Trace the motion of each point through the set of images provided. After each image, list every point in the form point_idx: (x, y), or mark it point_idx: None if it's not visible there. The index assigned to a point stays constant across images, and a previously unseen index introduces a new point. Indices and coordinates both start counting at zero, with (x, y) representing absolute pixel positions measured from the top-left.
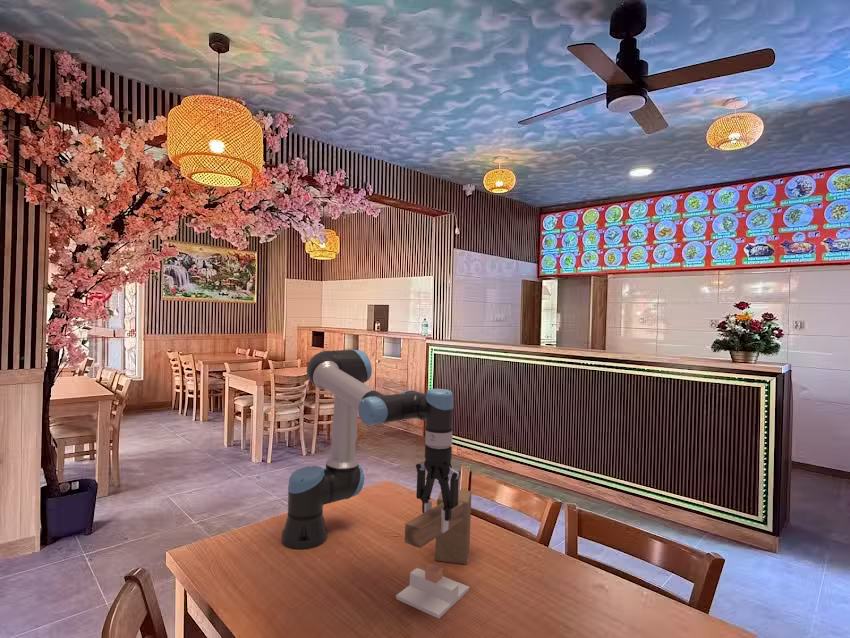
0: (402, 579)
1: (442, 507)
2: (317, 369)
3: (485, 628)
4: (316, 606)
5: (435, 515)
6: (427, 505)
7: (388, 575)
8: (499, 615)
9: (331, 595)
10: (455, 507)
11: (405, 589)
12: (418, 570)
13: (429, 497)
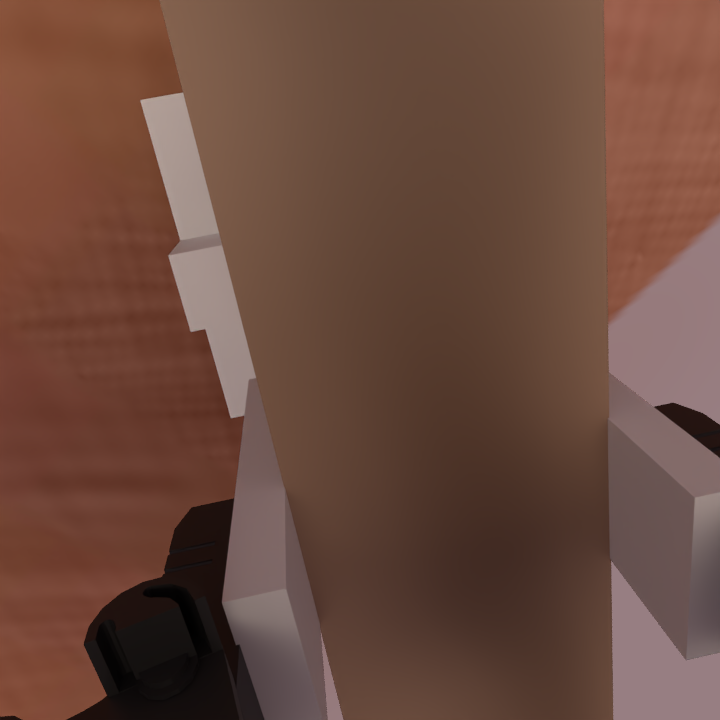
0: (100, 273)
1: (384, 288)
2: None
3: (668, 250)
4: (65, 669)
5: (521, 603)
6: (321, 690)
7: (14, 308)
8: (682, 115)
9: (23, 601)
10: (592, 51)
11: (219, 352)
12: (202, 272)
13: (239, 714)
